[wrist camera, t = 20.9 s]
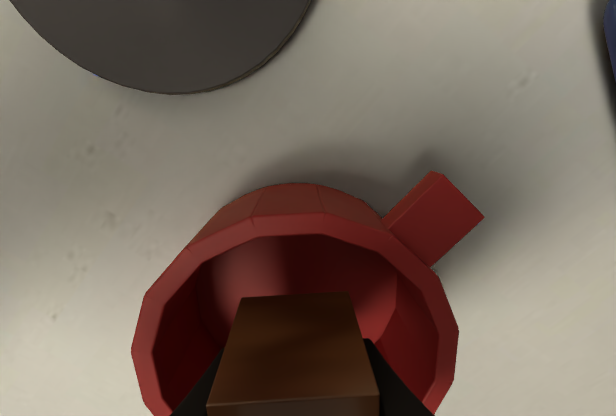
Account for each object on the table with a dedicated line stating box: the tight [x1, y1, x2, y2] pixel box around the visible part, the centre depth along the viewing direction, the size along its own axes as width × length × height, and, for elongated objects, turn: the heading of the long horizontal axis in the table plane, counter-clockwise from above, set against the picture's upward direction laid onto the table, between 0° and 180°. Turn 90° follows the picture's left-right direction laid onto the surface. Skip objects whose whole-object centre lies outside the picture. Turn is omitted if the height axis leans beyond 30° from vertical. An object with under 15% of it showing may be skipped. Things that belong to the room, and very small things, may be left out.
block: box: [206, 291, 380, 416], centre depth 11 cm, size 4×4×5 cm
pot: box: [131, 170, 484, 416], centre depth 14 cm, size 12×18×6 cm
